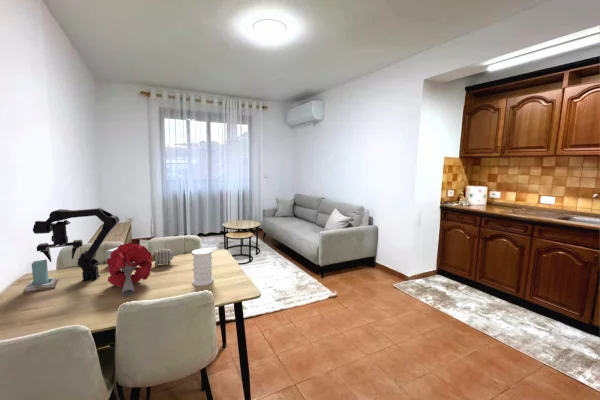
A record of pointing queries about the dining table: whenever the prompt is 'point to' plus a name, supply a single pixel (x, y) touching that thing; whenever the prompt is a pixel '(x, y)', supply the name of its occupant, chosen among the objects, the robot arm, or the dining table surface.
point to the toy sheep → (162, 256)
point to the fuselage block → (40, 272)
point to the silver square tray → (41, 286)
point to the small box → (110, 253)
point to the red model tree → (129, 266)
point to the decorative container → (202, 267)
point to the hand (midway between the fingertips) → (61, 260)
